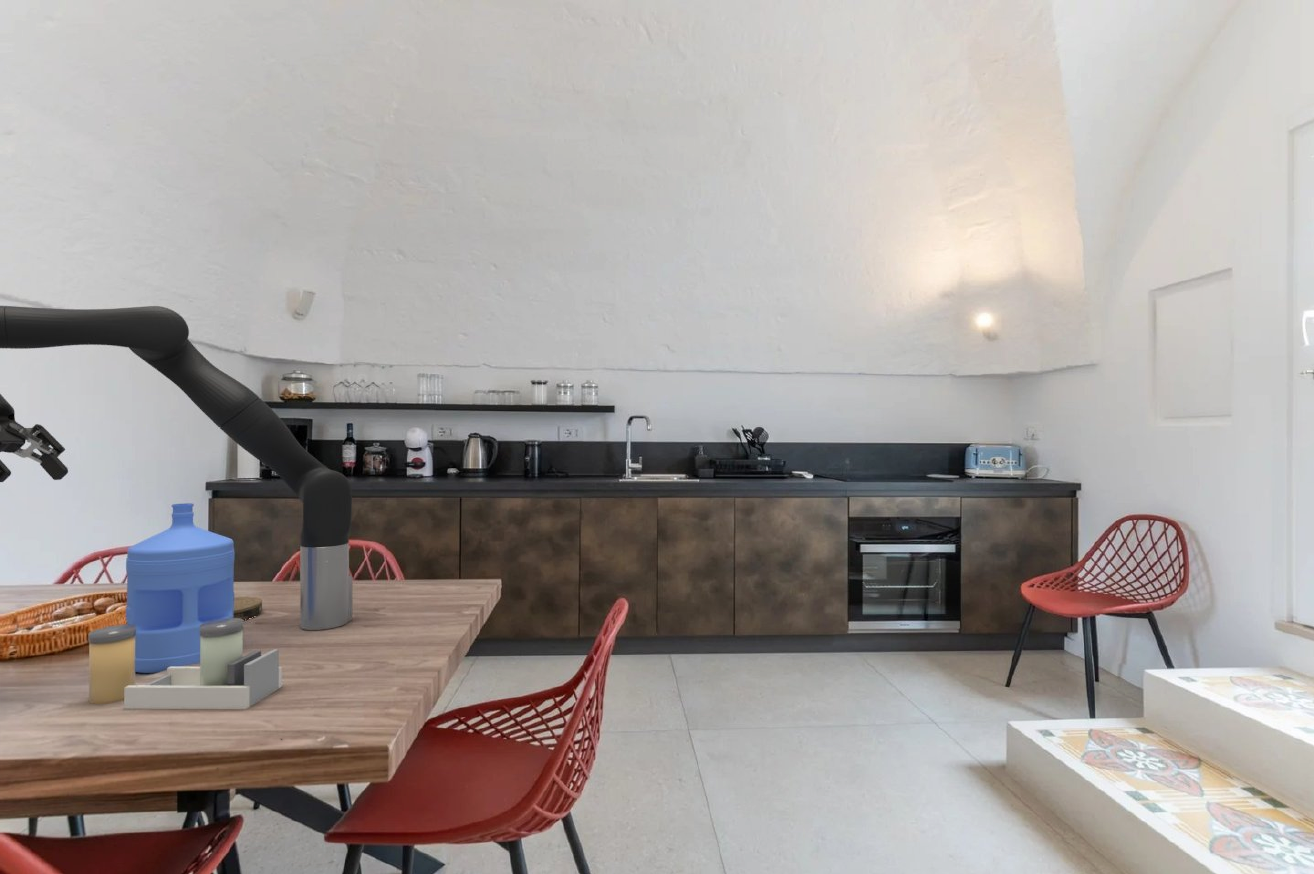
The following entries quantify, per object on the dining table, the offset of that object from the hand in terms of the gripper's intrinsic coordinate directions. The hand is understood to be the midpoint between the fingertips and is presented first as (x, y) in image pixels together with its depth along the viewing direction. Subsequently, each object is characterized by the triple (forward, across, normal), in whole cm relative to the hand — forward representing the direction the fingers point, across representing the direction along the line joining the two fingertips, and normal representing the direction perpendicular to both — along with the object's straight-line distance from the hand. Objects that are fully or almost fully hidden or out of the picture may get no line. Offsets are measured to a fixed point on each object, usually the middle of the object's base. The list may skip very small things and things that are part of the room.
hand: (34, 477), depth 94 cm
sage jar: (+44, +1, +2) cm, 44 cm away
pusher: (+46, +1, -1) cm, 46 cm away
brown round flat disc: (+21, +46, +27) cm, 58 cm away
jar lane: (+43, +1, +4) cm, 43 cm away
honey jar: (+33, +1, +15) cm, 36 cm away
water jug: (+30, +20, +18) cm, 40 cm away
